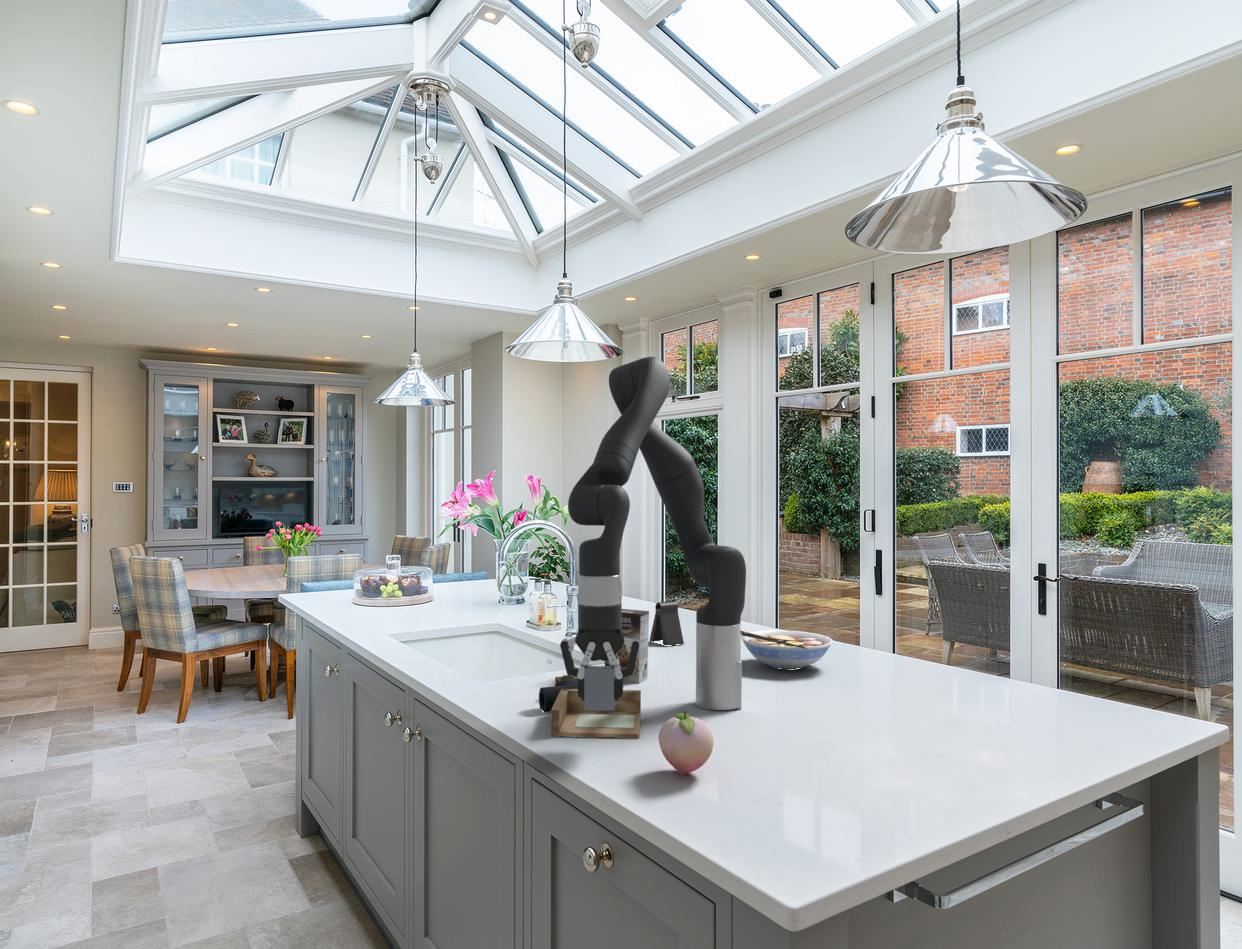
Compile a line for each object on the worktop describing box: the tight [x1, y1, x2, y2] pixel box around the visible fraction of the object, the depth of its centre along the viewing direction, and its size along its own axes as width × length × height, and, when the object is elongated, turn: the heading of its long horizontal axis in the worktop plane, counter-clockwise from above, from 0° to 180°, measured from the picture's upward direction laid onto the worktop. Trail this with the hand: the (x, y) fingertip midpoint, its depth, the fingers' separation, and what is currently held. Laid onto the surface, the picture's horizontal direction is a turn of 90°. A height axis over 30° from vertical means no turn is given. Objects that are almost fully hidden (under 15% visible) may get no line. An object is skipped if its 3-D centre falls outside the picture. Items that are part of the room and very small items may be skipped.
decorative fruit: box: [658, 710, 714, 775], centre depth 125 cm, size 9×8×10 cm
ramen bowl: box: [741, 629, 833, 669], centre depth 200 cm, size 25×23×8 cm
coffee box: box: [604, 608, 650, 684], centre depth 186 cm, size 9×6×16 cm
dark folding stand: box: [649, 600, 685, 645], centre depth 229 cm, size 9×6×12 cm, turn 31°
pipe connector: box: [538, 674, 578, 713], centre depth 165 cm, size 12×5×15 cm
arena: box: [550, 689, 642, 739], centre depth 150 cm, size 16×15×5 cm
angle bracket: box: [584, 665, 616, 711], centre depth 136 cm, size 5×8×7 cm, turn 177°
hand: (600, 699), depth 135 cm, fingers closed on angle bracket, 5 cm apart
